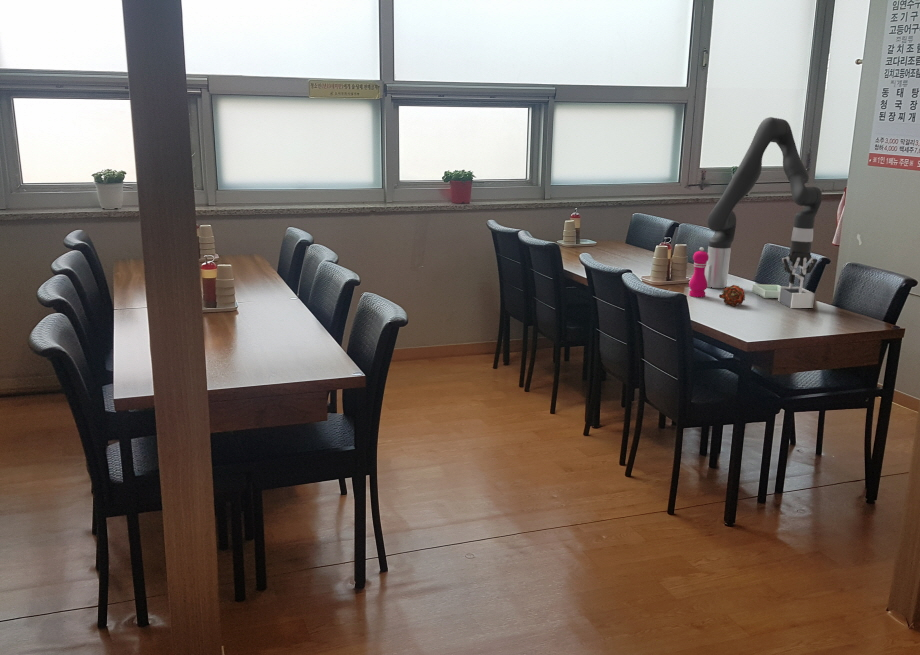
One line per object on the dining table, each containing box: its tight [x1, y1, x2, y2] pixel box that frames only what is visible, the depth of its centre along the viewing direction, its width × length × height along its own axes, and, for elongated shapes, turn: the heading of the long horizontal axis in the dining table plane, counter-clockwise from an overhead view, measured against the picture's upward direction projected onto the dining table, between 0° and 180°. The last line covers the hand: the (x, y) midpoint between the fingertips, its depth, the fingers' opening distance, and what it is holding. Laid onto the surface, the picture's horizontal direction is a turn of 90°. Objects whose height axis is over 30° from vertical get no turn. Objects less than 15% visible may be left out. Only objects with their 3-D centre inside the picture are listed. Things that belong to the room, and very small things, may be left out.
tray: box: [751, 284, 782, 300], centre depth 330 cm, size 11×14×3 cm
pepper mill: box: [688, 246, 709, 298], centre depth 324 cm, size 7×7×20 cm
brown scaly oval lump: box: [718, 284, 746, 307], centre depth 311 cm, size 8×8×12 cm
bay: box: [777, 286, 816, 309], centre depth 312 cm, size 8×13×6 cm, turn 1°
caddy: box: [779, 273, 806, 308], centre depth 312 cm, size 7×10×12 cm
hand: (796, 283), depth 311 cm, fingers open, 3 cm apart
